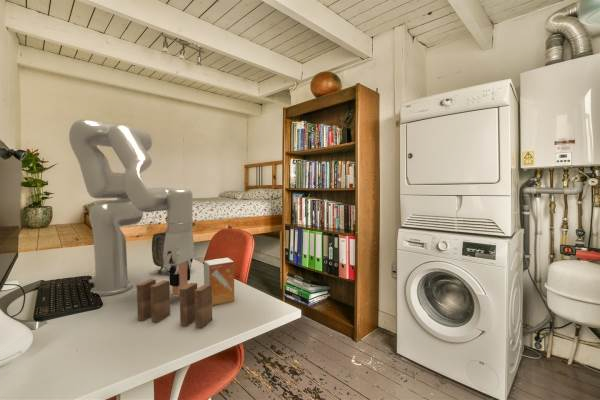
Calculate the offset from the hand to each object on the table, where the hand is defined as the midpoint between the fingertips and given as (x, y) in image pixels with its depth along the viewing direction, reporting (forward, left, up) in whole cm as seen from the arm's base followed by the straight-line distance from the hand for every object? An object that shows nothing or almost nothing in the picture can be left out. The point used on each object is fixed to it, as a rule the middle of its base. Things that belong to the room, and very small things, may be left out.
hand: (180, 282), depth 94 cm
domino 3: (0, 0, -4) cm, 4 cm away
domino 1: (-1, -13, -6) cm, 14 cm away
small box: (+13, +2, -6) cm, 14 cm away
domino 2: (+3, -13, -6) cm, 15 cm away
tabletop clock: (-20, +24, -6) cm, 32 cm away
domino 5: (+17, -13, -6) cm, 22 cm away
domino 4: (+12, -13, -6) cm, 19 cm away
